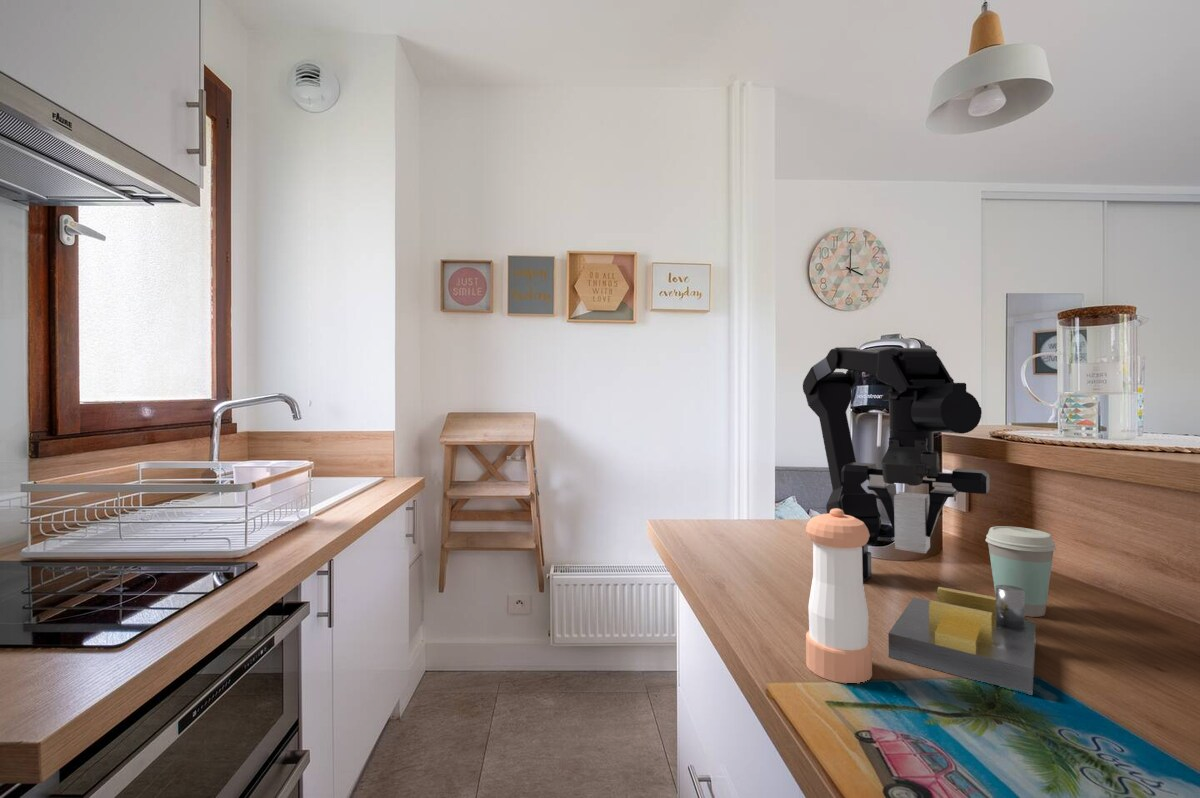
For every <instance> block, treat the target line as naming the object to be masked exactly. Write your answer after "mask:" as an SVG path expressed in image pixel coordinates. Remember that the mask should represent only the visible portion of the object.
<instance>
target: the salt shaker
mask: <svg viewBox="0 0 1200 798" xmlns="http://www.w3.org/2000/svg"><path fill="white" fill-rule="evenodd" d="M805 532H806V534H807V535H806V536H807V538H808V539H809V540H810V541H812V551H813V552H812V581H811V587H810V592H809V593H810V594H809V598H808V599H809V600H808V603H807V604H808V628H809V629H808V630H807V632H806V633H805V665H806V666H807V668H808V669H809V671H811V672H812V673H813V674H815V675H816V676H819V677H821V678H823V679H826V680H828V681H831V682H835V683H839V684H840V683H841V684H847V683H857V684H861V683H860V682H863V683H866V682H868V681H869V680H871V678H872V677H873V647H872V643H871V641H870V640H869V619H870V618H869V610H868V604H867V600H866V592H865V588H864V582H863V568H862V546H864V545H866V544H867V542H868V540H869V537H870V535H869V531H868V528H867V527H866V525H865V524H864V522H862V521H860V520H859V519H857V518H855V517H853V516H849V515H844V512H843V510H841V509H837V508H834V509H831V510H830V514H827V513H822V514H817V515H815V516H813V517H811V518H810V519H809V520H808V522H807V524H806V527H805ZM867 680H868V681H867ZM865 681H866V682H865Z"/></svg>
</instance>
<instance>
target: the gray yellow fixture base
mask: <svg viewBox="0 0 1200 798" xmlns="http://www.w3.org/2000/svg"><path fill="white" fill-rule="evenodd" d="M936 590H937V592H936V593H937V601H936V600H930V599H922V598H919V597H914V596H913V597H912V599H910V601H909V603H908V604H907V605H906V607H905V609H904V610H903V611H902V613H901V614H900V616H899V617H898V619H897V620H896V622H895V623H894V625H893V626H892V627H891V629H890V630H889V632H888V637H887V638H888V657H889V658H891V659H894V660H899V661H902V662H907V663H909V664H913V665H916V666H921V667H924V668H927V669H932V670H934V669H935V670H934V671H939V672H942V671H943V672H942V673H947V674H949V673H950V674H949V675H953V676H956V677H960V676H961V677H960V678H965V679H967V678H968V679H967V680H971V679H972V681H974V680H977V681H976V682H978V681H981V682H980V683H982V682H987V683H992V684H996V685H999V686H1004V687H1008V688H1012V689H1015V690H1019V691H1023V692H1025V693H1027V694H1029V695H1033V693H1034V692H1033V690H1034V679H1033V678H1034V677H1035V659H1036V622H1035V621H1032V620H1028V619H1025V618H1026V616H1025V605H1024V590H1023V589H1021V588H1018V587H1015V586H1010V585H996V586H995V588H994V592H995V591H996V595H995V596H990V595H985V594H979V593H976V592H971V591H970V592H969V591H965V590H958V589H953V588H950V587H949V588H947V587H944V586H943V587H942V586H938V587H937V589H936ZM1029 695H1028V696H1029Z"/></svg>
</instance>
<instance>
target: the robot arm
mask: <svg viewBox="0 0 1200 798" xmlns="http://www.w3.org/2000/svg"><path fill="white" fill-rule="evenodd" d="M937 354H938V352H937V350H936V349H934V348H932V347H891V348H884V349H880V350H871V349H860V348H857V347H851V346H850V347H844V346H843V347H839V346H837V347H834V348H832V349H830V350H829V352H827V355H826V356H825V357H824V358H823V359H821V360H820V361H818V362H817V363H815V364H814V365H813V366H811V368H810V369H809V371H808V372H807V374H806V375H805V377H804V379H803V382H802V391H803V394H804V395H805V398H806V401H807V402H806V403H807V406H808V407H809V409H811V410H812V412H813V413H814V414H816V416H817V417H818V419H819V424H820V428H821V434H822V438H823V440H822V441H823V445H824V450H825V456H826V460H827V466H828V471H829V475H830V476H829V477H830V482H831V488H832V492H831V493H830V496H829V498H828V499H827V502H826V505H825V506H826V514H830V510H831V509H834V508H837V509H841V510H843V512H844V515H849V516H853V517H855V518H857V519H859V520H860V521H862V522H864V524H865V525H866V527H867V528H868V531H869V535H870V537H869V540H868V542H867V544H866V545H864V546H862V568H863V583H864V582H865V581H866V580H867V579H868V578H869V577H871V576H872V552H870V551H869V545H873V546H876V545H877V543H878V539H879V535H880V531H881V525H882V520H881V517H882V515H881V513H880V510H879V507H878V502H877V501H878V500H877V497H876V495H877V496H878V497H879V500H880V501H881V503H882V505H883V508H884V510H885V512H886V515H887V517H888V520H889V522H890V526H891V527H892V531H893V533H895V526H894V495H896V494H897V493H898V492H897V484H904V485H908V486H913V487H914V486H916V487H917V486H920V485H922V484H923V485H932V487H933V489H932V490H931V491H929V512H928V520H927V536H928V537H930V538H931V537H932V536H933V535H932V534H933V533H934V530H935V527H936V525H937V521H938V519H939V516H940V515H941V514H940V513H941V511H942V509H943V507H944V505H945V504H946V502H947V500H948V499H949V498H955V497H956V496H957V495H958V494H959V493H968V494H979V495H986V494H988V493H989V491H990V489H991V488H990V487H991V486H990V484H991V483H990V482H991V481H990V474H989V472H987V471H986V470H985V469H973V468H970V469H969V468H959V467H958V468H955V469H953V470H952V471H951V472H941V471H940V470H941V464H940V463H941V461H940V455H939V451H938V450H934V433H945V434H946V433H948V434H962V435H963V434H966V433H967V434H968V433H970V432H971V431H972V432H973V430H974V429H976V428H977V427H978V425H979V423H980V421H981V419H982V407H981V406H980V404H979V402H978V400H977V398H976V397H975V396H974V395H973V394H972V393H970V392H968V391H967V383H966V382H954V379H953V378H952V376H951V375H950V373H949V371H948V370H947V368H946V366H945V365H944V363H943V361H942V360H941V358H940V357H939V356H938V355H937ZM836 370H847V371H846V372H845V373H844V372H843V371H836ZM858 372H860V373H866V374H869V375H870V374H872V375H874V376H876V379H877V380H878V381H880V382H882V383H884V384H886V385H888V386H890V387H889V389H888V390H887V391H886V392H884V393H883V394H882V395H881V401H884V402H885V401H888V419H889V423H888V426H889V430H888V431H889V433H888V434H889V437H888V447H887V450H886V451H885V454H884V456H883V458H882V459H881V468H877V465H876V463H871V462H869V463H868V462H867V463H866V462H857V460H856V454H855V450H854V449H855V448H854V444H853V440H852V439H853V438H852V435H851V430H850V426H849V421H848V415H847V411H848V408H849V406H850V404H851V402H852V399H853V393H852V392H853V389H854V388H855V387H856V386H857V383H858V382H859V376H858ZM867 480H868V485H867V486H866V489H867V490H869V491H873V492H874V493H875V494H876V495H875V494H874V493H868V492H867V491H866V490H865V489H864V488H863V486H862V484H864V483H865V482H866V481H867Z"/></svg>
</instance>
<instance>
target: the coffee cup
mask: <svg viewBox="0 0 1200 798" xmlns="http://www.w3.org/2000/svg"><path fill="white" fill-rule="evenodd" d="M985 537H986V538H985V542H986V543H987V544H988V551H989V557H990V558H989V559H990V565H991V566H990V567H991V573H992V574H991V575H992V580H993V587H994V589H995V586H996V585H1010V586H1015V587H1018V588H1021V589H1023V590H1024V605H1025V617H1030V618H1032V617H1033V618H1037V617H1043V616H1045V615H1046V609H1047V604H1048V603H1047V602H1048V596H1049V595H1048V594H1049V589H1050V580H1051V573H1052V565H1053V559H1054V557H1053V556H1054V551H1056V550H1057V547H1056V543H1055V542H1054V540H1053V537H1052V535H1051V534H1050V533H1049V532H1046V531H1042V530H1039V529H1038V530H1037V529H1033V528H1026V527H1019V526H1005V525H1003V526H999V525H996V526H992V527H990V528H989V529H988V533H987V534H986V536H985ZM994 594H995V596H996V591H995V590H994Z"/></svg>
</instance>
